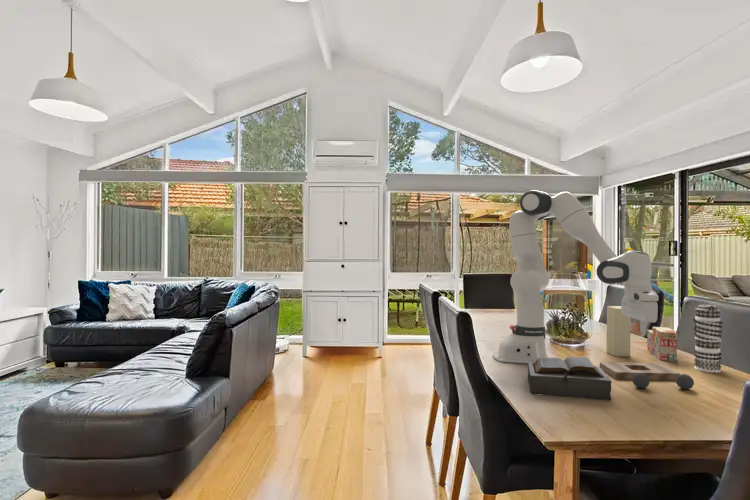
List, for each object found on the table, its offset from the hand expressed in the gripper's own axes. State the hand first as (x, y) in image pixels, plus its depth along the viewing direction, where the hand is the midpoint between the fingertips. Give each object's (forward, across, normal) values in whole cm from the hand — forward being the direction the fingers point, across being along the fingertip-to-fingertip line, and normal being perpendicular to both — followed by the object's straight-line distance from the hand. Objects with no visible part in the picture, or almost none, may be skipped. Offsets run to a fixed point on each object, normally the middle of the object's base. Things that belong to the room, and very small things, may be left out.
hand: (638, 330), depth 168 cm
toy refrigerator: (+16, -32, +7) cm, 37 cm away
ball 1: (+14, +17, -7) cm, 23 cm away
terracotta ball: (-1, 0, 0) cm, 1 cm away
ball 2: (+14, +17, +7) cm, 23 cm away
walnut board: (+16, 0, 0) cm, 16 cm away
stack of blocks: (+17, -32, +25) cm, 44 cm away
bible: (+17, +19, -32) cm, 41 cm away
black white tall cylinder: (+17, -9, +30) cm, 35 cm away
